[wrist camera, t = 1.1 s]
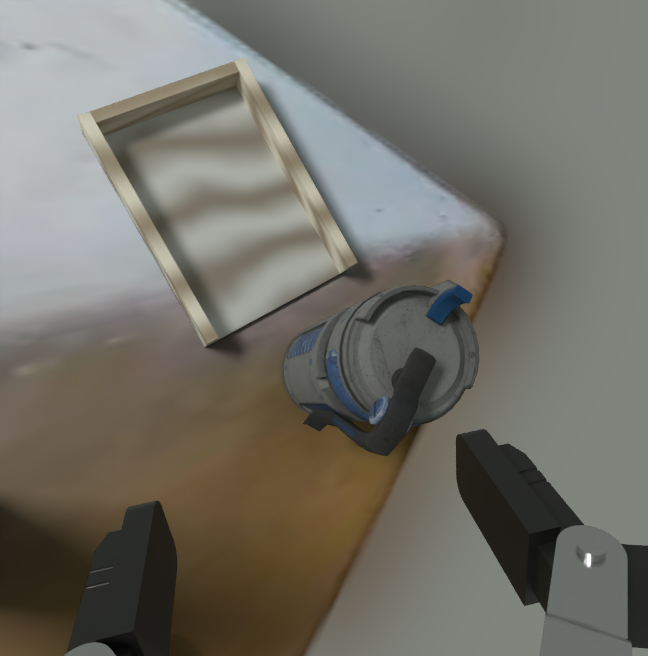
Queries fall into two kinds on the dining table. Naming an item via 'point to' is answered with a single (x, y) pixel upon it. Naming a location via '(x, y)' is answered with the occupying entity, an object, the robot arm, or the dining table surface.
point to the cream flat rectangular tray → (218, 197)
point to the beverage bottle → (385, 363)
